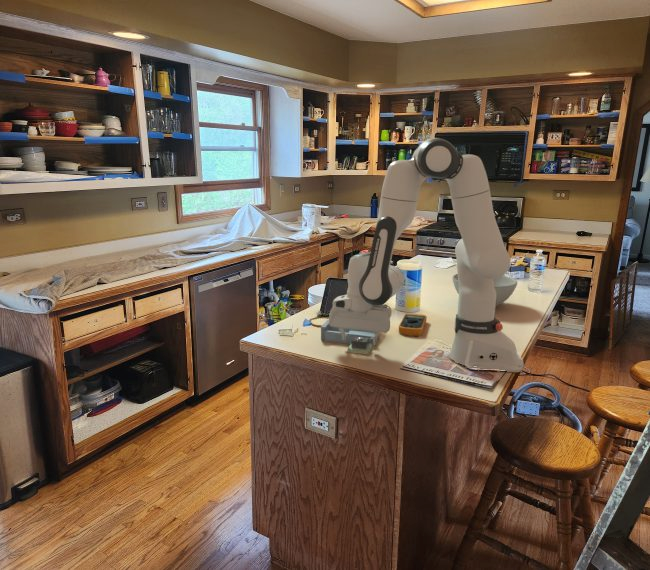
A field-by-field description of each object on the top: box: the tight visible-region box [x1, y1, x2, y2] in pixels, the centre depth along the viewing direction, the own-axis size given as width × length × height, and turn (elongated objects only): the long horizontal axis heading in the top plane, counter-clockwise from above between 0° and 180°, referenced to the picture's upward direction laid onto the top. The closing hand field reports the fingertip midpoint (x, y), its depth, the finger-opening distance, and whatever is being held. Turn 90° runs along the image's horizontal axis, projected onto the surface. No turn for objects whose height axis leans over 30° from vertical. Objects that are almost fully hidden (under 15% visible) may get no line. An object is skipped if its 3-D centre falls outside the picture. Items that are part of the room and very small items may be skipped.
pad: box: [346, 343, 373, 355], centre depth 161 cm, size 7×7×1 cm
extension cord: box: [308, 310, 330, 328], centre depth 189 cm, size 12×16×2 cm
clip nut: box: [350, 336, 369, 349], centre depth 160 cm, size 5×4×3 cm
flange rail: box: [320, 319, 380, 347], centre depth 169 cm, size 19×8×5 cm, turn 73°
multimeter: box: [398, 312, 428, 337], centre depth 181 cm, size 9×18×3 cm, turn 162°
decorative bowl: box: [452, 273, 518, 309], centre depth 209 cm, size 27×27×12 cm
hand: (358, 341), depth 160 cm, fingers open, 8 cm apart
